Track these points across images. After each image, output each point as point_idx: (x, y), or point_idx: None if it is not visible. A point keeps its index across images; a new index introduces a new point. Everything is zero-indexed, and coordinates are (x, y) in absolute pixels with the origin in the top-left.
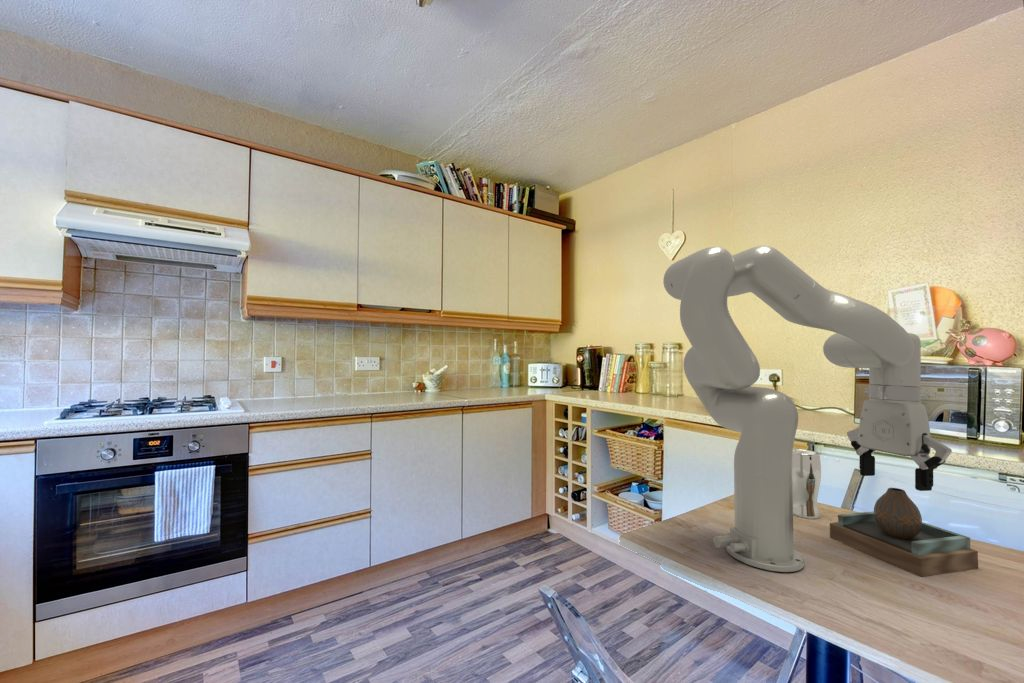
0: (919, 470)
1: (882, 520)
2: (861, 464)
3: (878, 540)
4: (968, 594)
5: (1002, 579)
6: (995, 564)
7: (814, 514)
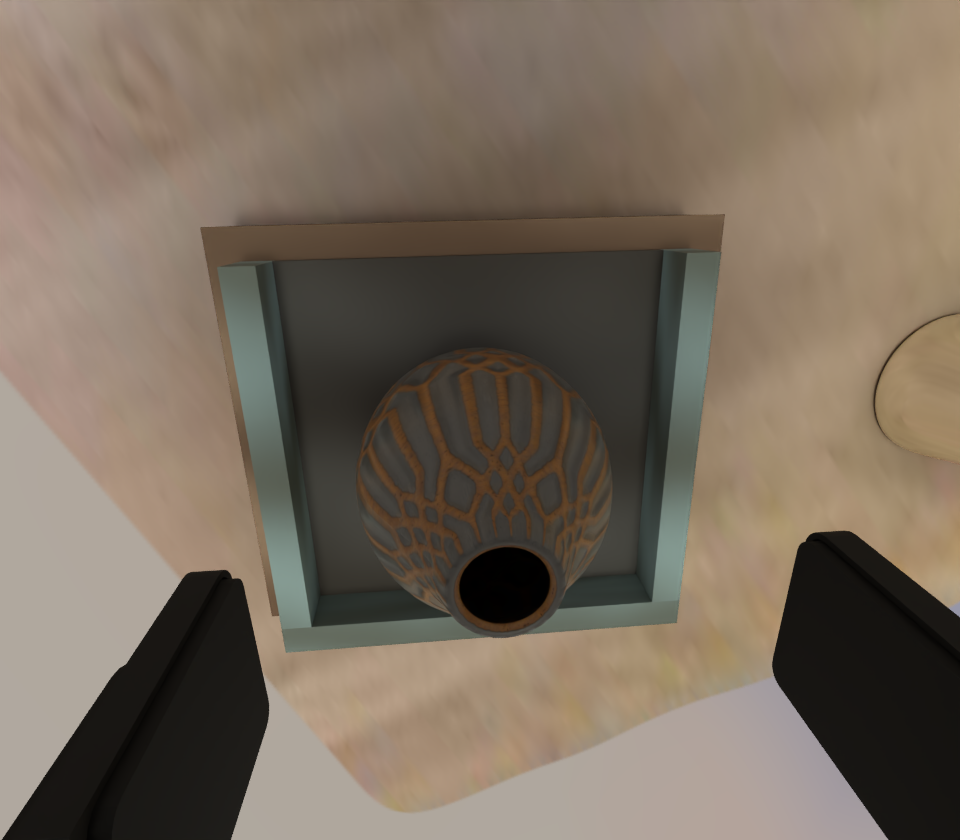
0: (35, 816)
1: (488, 349)
2: (940, 619)
3: (448, 250)
4: (71, 260)
5: (199, 554)
6: (314, 663)
7: (897, 388)
